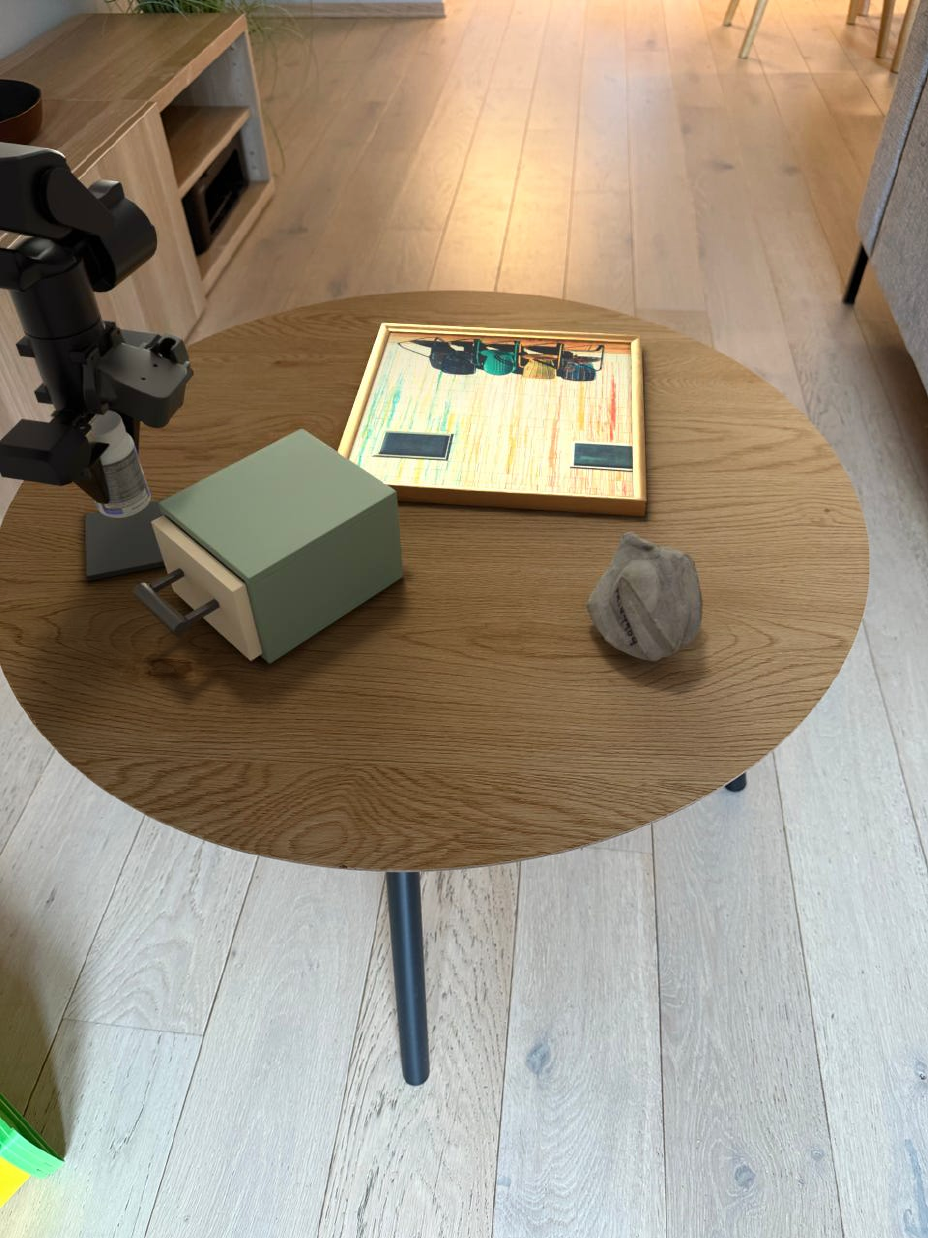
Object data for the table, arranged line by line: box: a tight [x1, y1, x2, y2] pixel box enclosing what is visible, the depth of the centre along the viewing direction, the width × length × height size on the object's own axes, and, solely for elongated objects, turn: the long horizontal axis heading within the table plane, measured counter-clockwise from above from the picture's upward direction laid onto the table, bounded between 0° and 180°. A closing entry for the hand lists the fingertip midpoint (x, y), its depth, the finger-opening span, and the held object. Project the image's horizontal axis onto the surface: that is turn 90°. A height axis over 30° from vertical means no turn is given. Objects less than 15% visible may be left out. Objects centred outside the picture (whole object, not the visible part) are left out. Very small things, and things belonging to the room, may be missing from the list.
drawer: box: [132, 515, 262, 662], centre depth 78 cm, size 18×11×8 cm, turn 134°
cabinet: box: [158, 428, 404, 665], centre depth 80 cm, size 15×13×10 cm
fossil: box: [586, 531, 704, 662], centre depth 76 cm, size 11×9×8 cm
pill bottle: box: [91, 410, 151, 518], centre depth 81 cm, size 5×5×8 cm
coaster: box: [84, 499, 166, 582], centre depth 87 cm, size 9×9×1 cm
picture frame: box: [337, 322, 648, 517], centre depth 100 cm, size 30×2×30 cm
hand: (117, 485), depth 83 cm, fingers closed on pill bottle, 5 cm apart
